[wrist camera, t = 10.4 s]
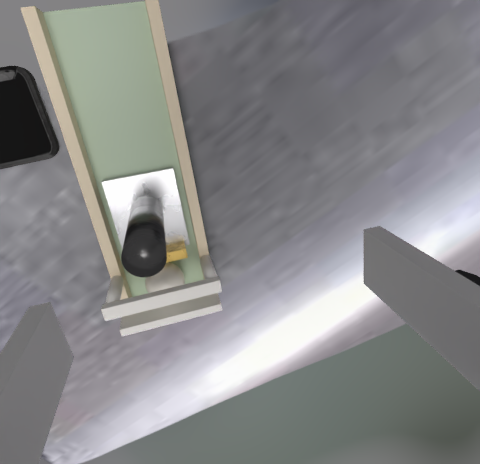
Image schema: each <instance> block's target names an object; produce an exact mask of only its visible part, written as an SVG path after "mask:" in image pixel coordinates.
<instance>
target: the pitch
mask: <svg viewBox="0 0 480 464" xmlns="http://www.w3.org/2000/svg"><path fill="white" fill-rule="evenodd" d="M21 11H22V14H23V17H24V20H25V23H26V26H27V29H28V32H29V35H30V38H31V41H32V44H33V47H34V50H35V53H36V56H37V59H38V62H39V65H40V68H41V71H42V74H43V77H44V80H45V83H46V86H47V89H48V92H49V95H50V98H51V101H52V104H53V107H54V110H55V113H56V116H57V119H58V122H59V125H60V128H61V131H62V134H63V137H64V140H65V143H66V146H67V149H68V152H69V155H70V158H71V161H72V164H73V167H74V170H75V173H76V176H77V179H78V182H79V185H80V188H81V191H82V193H83V196H84V199H85V202H86V205H87V208H88V211H89V214H90V217H91V220H92V223H93V226H94V229H95V232H96V235H97V238H98V241H99V244H100V247H101V250H102V253H103V256H104V259H105V262H106V265H107V268H108V271H109V274H110V277H111V282H110V286H109V290H108V294H107V299H106V303H105V304H102V308H101V310H102V313H103V316H104V319H105V321H108V320H112V319H116V318H120V317H122V318H121V325H120V332H121V335H122V336H126V335H130V334H134V333H138V332H141V331H145V330H149V329H153V328H157V327H161V326H164V325H168V324H172V323H176V322H180V321H184V320H187V319H191V318H195V317H199V316H203V315H207V314H210V313H214V312H218V311H222V306H221V302H220V299H219V296H218V293H219V292H222V289H221V284H220V280H219V277H218V276H217V274H216V271H215V268H214V265H213V263H212V260H211V257H210V256H209V251H208V246H207V241H206V236H205V231H204V226H203V221H202V216H201V211H200V206H199V201H198V196H197V191H196V186H195V181H194V176H193V171H192V166H191V161H190V156H189V151H188V146H187V141H186V136H185V131H184V126H183V121H182V116H181V111H180V106H179V101H178V96H177V91H176V86H175V81H174V76H173V71H172V66H171V61H170V56H169V51H168V46H167V41H166V36H165V31H164V26H163V21H162V16H161V11H160V6H159V1H158V0H145V1H140V2H131V3H122V4H113V5H104V6H95V7H86V8H77V9H68V10H59V11H50V12H42V11H40V10H39V9H38V8H36V7H35V6H31V7H24V8H21ZM168 167H173V170H174V175H175V179H176V184H177V188H178V193H179V197H180V202H181V206H182V211H183V215H184V220H185V224H186V229H187V233H188V238H189V242H190V244H189V245H185V247H186V251H187V256H188V258H185V259H180V260H176V261H172V262H169V263H173V264H175V265H177V266H178V267H179V268H180V269H181V270H182V272H183V274H184V278H185V284H184V285H180V286H176V287H171V288H167V289H163V290H159V291H155V292H151V293H148V291H147V289H146V286H145V279H146V277H137V276H134V275H132V274H130V273H129V272H128V271H127V270H126V269H125V268H124V266H123V264H122V261H121V254H122V247H121V244H120V240H119V237H118V234H117V231H116V227H115V224H114V221H113V218H112V215H111V211H110V208H109V205H108V202H107V198H106V195H105V192H104V189H103V185H102V180H104V179H109V178H115V177H120V176H125V175H131V174H136V173H141V172H146V171H152V170H157V169H162V168H168Z"/></svg>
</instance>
